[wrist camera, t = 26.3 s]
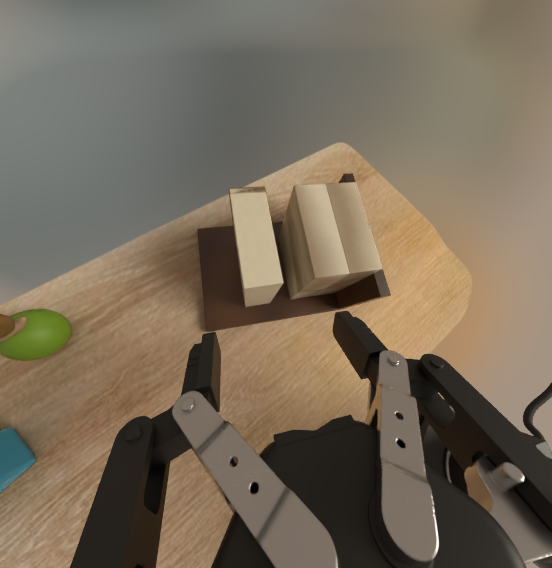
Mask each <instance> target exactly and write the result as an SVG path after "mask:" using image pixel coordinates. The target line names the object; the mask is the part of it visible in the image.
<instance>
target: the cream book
mask: <svg viewBox="0 0 552 568" xmlns="http://www.w3.org/2000/svg"><path fill="white" fill-rule="evenodd" d="M229 196H230V204H231V212H232V219H233V227H234V235H235V242H236V247H237V254H238V261H239V268H240V274H241V281H242V288H243V295H244V302H245V307H249V306H255V305H261V304H267V303H270V302H271V301H272V299H273V298H274V296H275V295H276V293H277V292H278V290H279V289H280V287H281V286H282V284H283V278H282V273H281V268H280V263H279V257H278V252H277V247H276V242H275V237H274V232H273V227H272V222H271V216H270V211H269V206H268V201H267V196H266V189H265V187H245V188H229Z"/></svg>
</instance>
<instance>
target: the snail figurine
mask: <svg viewBox="0 0 552 568" xmlns="http://www.w3.org/2000/svg"><path fill="white" fill-rule="evenodd" d="M70 335H71V326H70V323H69V321H68V320H67V319H66V318H65V317H64V316H63V315H61V314H59V313H57V312H54V311H51V310H45V309H34V310H27V311H23V312H20V313H17V314H15V315H12V316H11V317H9V316H6V315H2V314H0V354H1V355H3V356H5V357H7V358H10V359H14V360H21V361H28V360H36V359H40V358H44V357H47V356H49V355H51V354H53V353H55V352H57V351H58V350H59V349H61V348H62V347H63V346H64V345H65V344H66V343H67V341H68V339H69V337H70Z"/></svg>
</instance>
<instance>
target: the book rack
mask: <svg viewBox="0 0 552 568" xmlns="http://www.w3.org/2000/svg"><path fill="white" fill-rule="evenodd" d="M272 227H273V232H274V237H275V242H276V247H277V252H278V257H279V263H280V268H281V273H282V278H283V284H282V286H281V287H280V289H279V290H278V292H277V293H276V295H275V296H274V298H273V299H272V301H271V302H270V303H267V304H261V305H255V306H249V307H245V302H244V295H243V288H242V281H241V274H240V268H239V261H238V254H237V247H236V242H235V235H234V227H233V226H227V227H215V228H202V229H197V230H198V241H199V252H200V263H201V274H202V285H203V296H204V307H205V318H206V328H207V332H210V331H216V330H222V329H227V328H233V327H239V326H245V325H251V324H257V323H263V322H269V321H275V320H281V319H287V318H292V317H298V316H304V315H310V314H316V313H322V312H328V311H334V310H340V309H345V308H348V307H352V306H355V305H359V304H362V303H366V302H369V301H373V300H376V299H380V298H383V297H387V296H390V295H391V294H390V291H389V288H388V285H387V282H386V278H385V275H384V272H383V268H382V265H381V261H380V258H379V255H378V252H377V249H376V245H375V242H374V239H373V236H372V233H371V229H370V226H369V223H368V220H367V217H366V213H365V210H364V207H363V204H362V201H361V197H360V194H359V191H358V188H357V184H356V182H355V179H354V176H353V174H344V175H343V176H342V178H341V180H340V181H339V183H329V184H311V185H294V187H293V191H292V194H291V197H290V200H289V204H288V207H287V210H286V213H285V217H284V220H283V222H276V223H272Z"/></svg>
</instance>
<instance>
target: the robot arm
mask: <svg viewBox="0 0 552 568" xmlns="http://www.w3.org/2000/svg"><path fill="white" fill-rule="evenodd" d="M333 335H334V337H335V339H336V340H337V342H338V344H339V345H340V347H341V348H342V350H343V352H344V353H345V355H346V356H347V358H348V359H349V361H350V363H351V364H352V366H353V367H354V369H355V371H356V372H357V374H358V375H359V377H360V378H361V379H365V378H368V379H369V380H370V383H369V393H368V407H367V416H366V420H365V423H362V422H358V421H354V420H353V418H352V416H351V415H348V416H344V417H340V418H336V419H333V420H331V421H330V422H328V423H327V424H325V425H324V426H322V427H321V428H319V429H318V430H315V431H310V430H291V431H287V432H283V433H279V434H276V435H274V442H272V443H271V444H269V445H268V446H267V447H266V448H265V449H264V450H263V451H262V452H261V453H260V455H258V454H257V453H256V452H255V451H254V449H253V448H252V447H251V446H250V445H249V444H248V443H247V442H246V440H245V439H244V438H243V437H242V436H241V435H240V434H239V432H238V431H237V430H236V429H235V428H234V427H233V426H232V425H231V424H230V423H229V422H228V421H227V422H226V421H224V420H223V419H222V417H221V416H220V415H219V414H218V413H217V412H219V409H220V372H221V353H220V347H219V343H218V339H217V335H216V332H213V333H207V334H203V336H202V342H201V343H199V344H194V346H193V347H192V349H191V350H190V353H189V358H188V363H187V368H186V373H185V378H184V383H183V388H182V393H181V396H180V397H179V398H178V399H177V401H176V402H175V404H174V405H173V406H172V407H171V408H170V409H169V410H167V411H165V412H163V413H161V414H160V415H158V416H156V417H154V418H152V419H150V418H149V417H146V416H140V417H137V418H135V419H132V420H131V421H129V422H128V423H127V424H126V425H125V426H123V428H122V429H121V430H120V431H119V433H118V434H117V436H116V438H115V441H114V444H113V447H112V450H111V452H110V455H109V458H108V461H107V464H106V467H105V470H104V472H103V475H102V478H101V481H100V484H99V487H98V489H97V492H96V495H95V498H94V501H93V504H92V507H91V509H90V512H89V515H88V518H87V521H86V524H85V526H84V529H83V532H82V535H81V538H80V541H79V544H78V546H77V549H76V552H75V555H74V558H73V561H72V563H71V566H70V568H156V561H157V554H158V547H159V540H160V532H161V525H162V518H163V511H164V503H165V496H166V489H167V482H168V475H169V467H170V461H171V460H173V459H175V458H176V457H178V456H179V455H181V454H182V453H184V452H186V451H187V450H189V449H190V448H192V450H193V452H194V453H195V455H196V456H197V458H198V459H199V461H200V462H201V464H202V465H203V467H204V468H205V470H206V471H207V473H208V474H209V476H210V477H211V479H212V481H213V482H214V484H215V486H216V487H217V489H218V490H219V492H220V493H221V495H222V496H223V498H224V499H225V501H226V502H227V504H228V506H229V507H230V509H231V510H232V512H233V516H232V518H231V521H230V523H229V526H228V528H227V530H226V533H225V535H224V538H223V540H222V542H221V545H220V547H219V550H218V552H217V555H216V557H215V559H214V562H213V564H212V567H211V568H526V566H525V564H527V563H531V562H533V563H534V564H536V565H537V566H538V567H540V568H552V452H551V450H550V448H549V445H548V443H547V441H546V440H545V439H544V437H543V435H542V434H541V433H540V432H539V431H538V430H537V429H536V428H535V427H534V426H533V423H532V420H533V416H534V413H535V412H536V410H537V409H538V408H539V407H540V406H541V405H543V404H544V403H545V402H546V401H547V400H549V399H550V398H551V397H552V383H551V384H550V385H549V387H548V388H547V389H546V390H545V391H544V392H543V393H542V394H541V395H539V396H538V397H537V398H536V399H534V400H533V401H532V402H531V403H530V404H529V405H528V406H527V408H526V409H525V412H524V415H523V422H524V425H525V427H526V428H527V429H528V430H529V431H530V432H531V433H532V434H533V435H534V436H531V435H528V434H526V433H523V432H520V431H519V430H518V429H517V428H516V427H515V426H514V425H513V424H511V423H510V422H509V421H508V420H507V419H506V418H505V417H504V416H503V415H502V414H501V413H500V412H499V411H498V410H497V409H496V408H495V407H494V406H493V405H492V404H491V403H490V402H488V401H487V400H486V399H485V398H484V397H483V396H482V395H481V394H480V393H479V392H478V391H477V390H476V389H475V388H474V387H473V386H472V385H471V384H470V383H469V382H467V381H466V380H465V379H464V378H463V377H462V376H461V375H460V374H459V373H458V372H457V371H456V370H455V369H454V368H453V367H452V366H451V365H450V364H449V363H448V362H446V361H445V360H444V359H442V358H441V357H438V356H436V355H433V354H424V355H423V356H422V357H421V359H420V360H415V359H405V358H404V357H403V356H401V355H400V354H398V353H396V352H394V351H390V350H388V349H387V348H386V347H385V346H384V345H383V344H382V342H381V341H380V340H379V339H378V338H377V337H376V336H375V334H374V333H372V331H371V330H370V329H369V328H368V326H367V325H366V324H365V323H364V322H363V321H362V320H360V319H359V318H357V317H353V316H352V315H351V314H350V313H349V312H348V311H342V312H336V313H335V318H334V324H333ZM438 392H439V393H440V394H441V395H442V396H443V397H444V399H445V400H446V401H447V402H448V403H449V404H450V405H451V407H452V408H453V410H454V412H455V413H454V412H453V410H452V409H451V408H450V407H449V406H448V405H447V403H446V402H445V401H444V400H443V399H442V398H441V396H440V395H439V394H438ZM417 408H418V409H419V410H420V412H421V413H422V414H423V416H424V417H425V419H426V420H427V421H428V423H429V424H430V425H431V427H432V428H433V429H434V431H435V432H436V434H437V435H438V436H439V438H440V439H441V440H442V442H443V443H444V445H445V446H446V448H445V451H444V456H443V470H444V476H445V478H443V477H442V476H441V475H439V474H438V473H437V472H435V471H434V470H432V469H431V468H430V467H428V466H427V465H426V464H425V463H424V456H423V448H422V440H421V432H420V425H419V417H418V409H417Z"/></svg>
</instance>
